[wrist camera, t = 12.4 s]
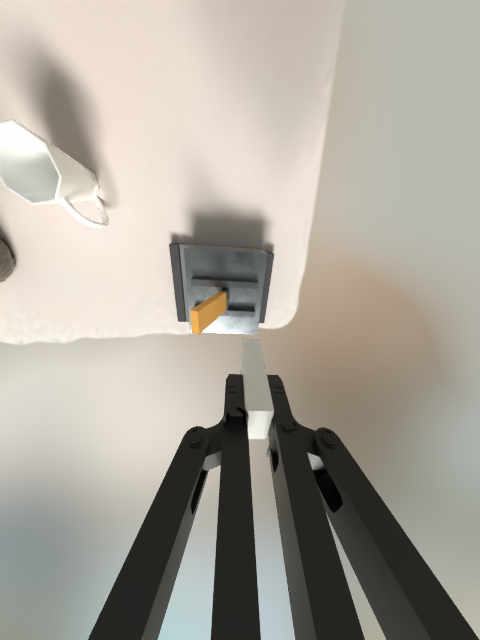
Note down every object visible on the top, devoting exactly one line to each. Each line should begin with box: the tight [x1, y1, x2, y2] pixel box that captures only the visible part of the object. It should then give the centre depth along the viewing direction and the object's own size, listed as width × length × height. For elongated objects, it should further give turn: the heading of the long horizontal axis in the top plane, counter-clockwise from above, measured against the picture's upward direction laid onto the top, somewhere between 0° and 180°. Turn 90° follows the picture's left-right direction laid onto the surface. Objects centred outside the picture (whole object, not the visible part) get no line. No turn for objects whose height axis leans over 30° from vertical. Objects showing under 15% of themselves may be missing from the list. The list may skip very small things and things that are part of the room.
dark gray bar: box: [259, 253, 274, 323], centre depth 33 cm, size 13×1×1 cm, turn 176°
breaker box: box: [184, 244, 268, 335], centre depth 30 cm, size 14×12×6 cm
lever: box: [190, 290, 229, 334], centre depth 24 cm, size 3×1×9 cm, turn 176°
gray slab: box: [169, 243, 190, 322], centre depth 32 cm, size 14×3×1 cm, turn 176°
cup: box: [0, 119, 109, 229], centre depth 22 cm, size 7×10×8 cm
